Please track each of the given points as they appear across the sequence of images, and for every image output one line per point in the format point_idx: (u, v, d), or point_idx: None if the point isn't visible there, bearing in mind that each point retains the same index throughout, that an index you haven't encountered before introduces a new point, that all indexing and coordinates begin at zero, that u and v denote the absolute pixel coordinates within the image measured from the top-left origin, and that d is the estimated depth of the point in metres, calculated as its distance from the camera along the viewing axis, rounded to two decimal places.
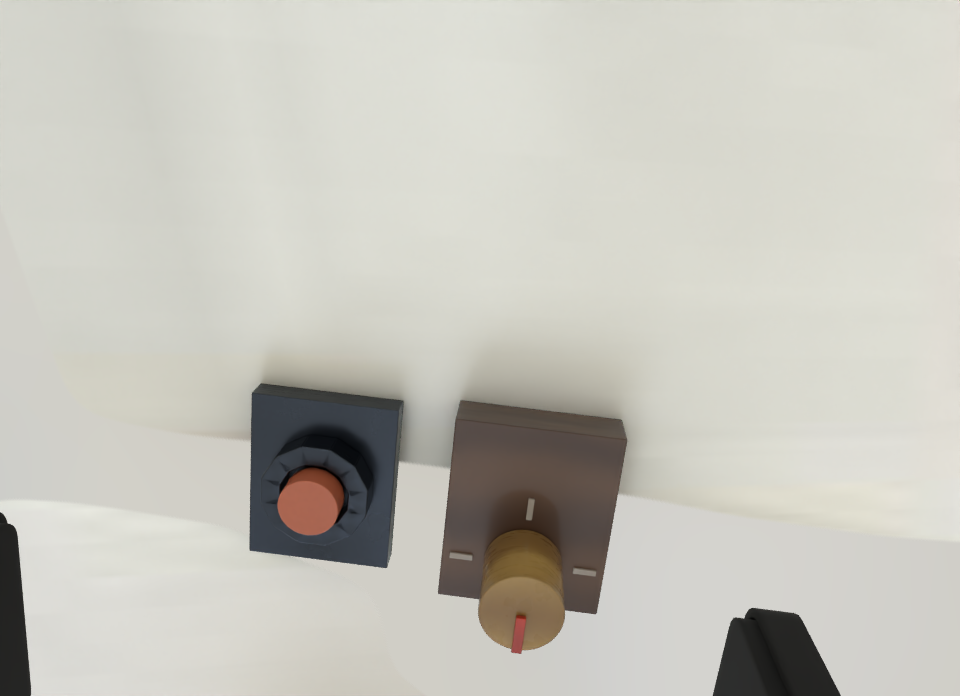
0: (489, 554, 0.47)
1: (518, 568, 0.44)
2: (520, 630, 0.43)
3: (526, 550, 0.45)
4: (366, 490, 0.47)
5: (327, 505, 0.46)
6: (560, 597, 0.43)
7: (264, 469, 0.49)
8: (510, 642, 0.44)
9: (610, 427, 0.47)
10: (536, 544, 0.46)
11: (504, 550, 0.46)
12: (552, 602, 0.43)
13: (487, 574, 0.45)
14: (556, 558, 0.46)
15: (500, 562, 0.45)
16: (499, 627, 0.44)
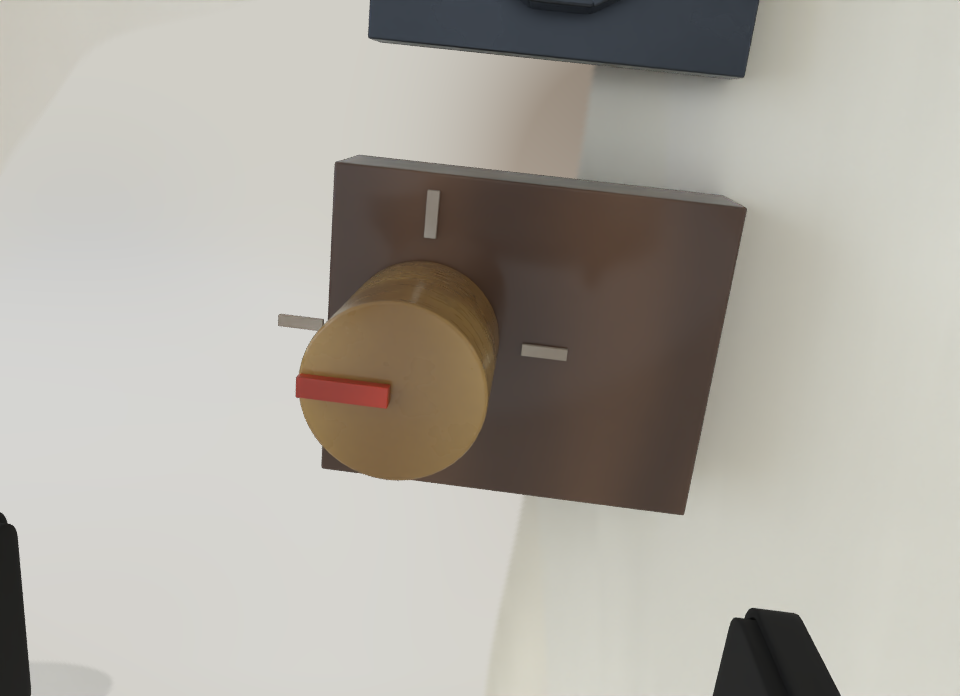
0: (460, 284, 0.22)
1: (489, 376, 0.20)
2: (356, 397, 0.19)
3: None
4: (595, 4, 0.21)
5: None
6: None
7: None
8: (316, 370, 0.20)
9: None
10: None
11: (486, 323, 0.22)
12: (427, 457, 0.20)
13: (452, 302, 0.20)
14: None
15: (479, 326, 0.21)
16: (353, 347, 0.19)
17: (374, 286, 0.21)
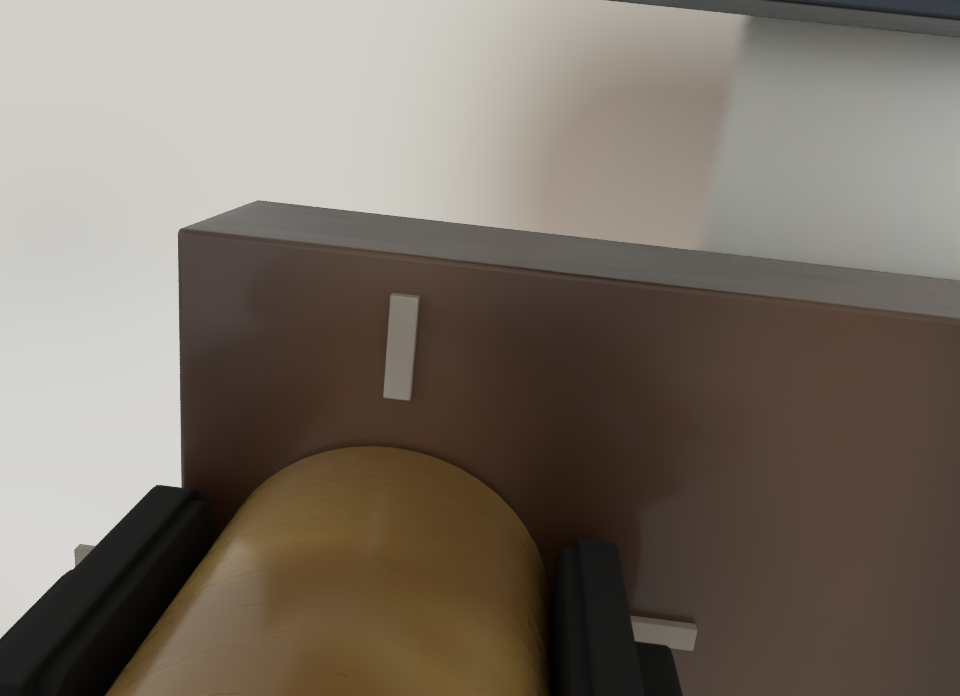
0: (468, 522, 0.10)
1: None
2: None
3: None
4: None
5: None
6: None
7: None
8: None
9: None
10: None
11: (533, 632, 0.09)
12: None
13: (451, 632, 0.08)
14: None
15: (521, 682, 0.08)
16: None
17: (244, 575, 0.08)
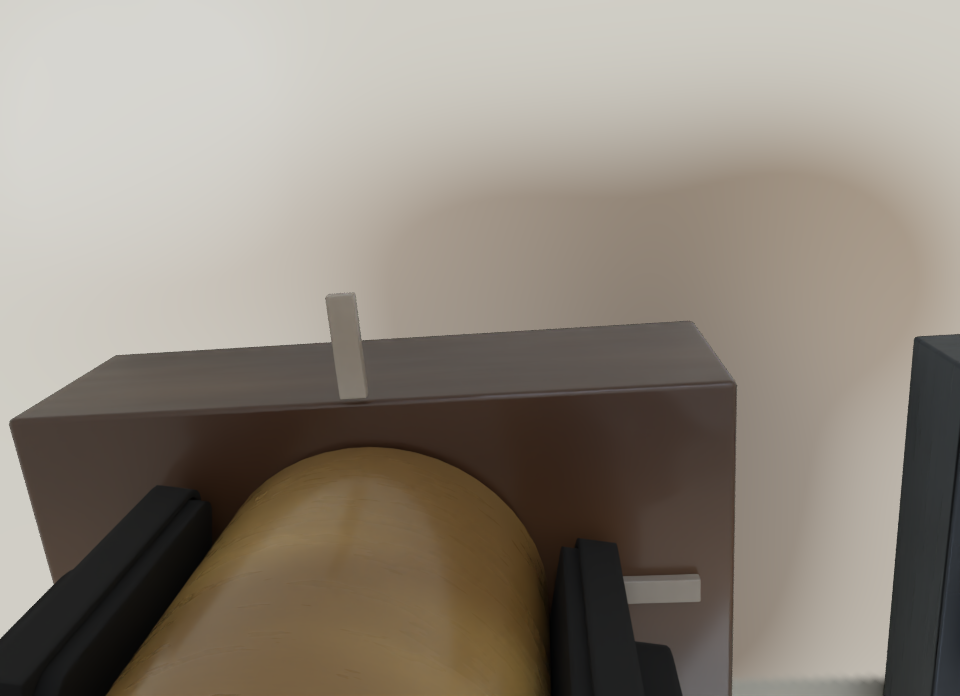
0: (467, 522, 0.10)
1: None
2: None
3: None
4: None
5: None
6: None
7: None
8: None
9: None
10: None
11: (532, 631, 0.09)
12: None
13: (450, 633, 0.08)
14: None
15: (520, 682, 0.08)
16: None
17: (243, 576, 0.08)
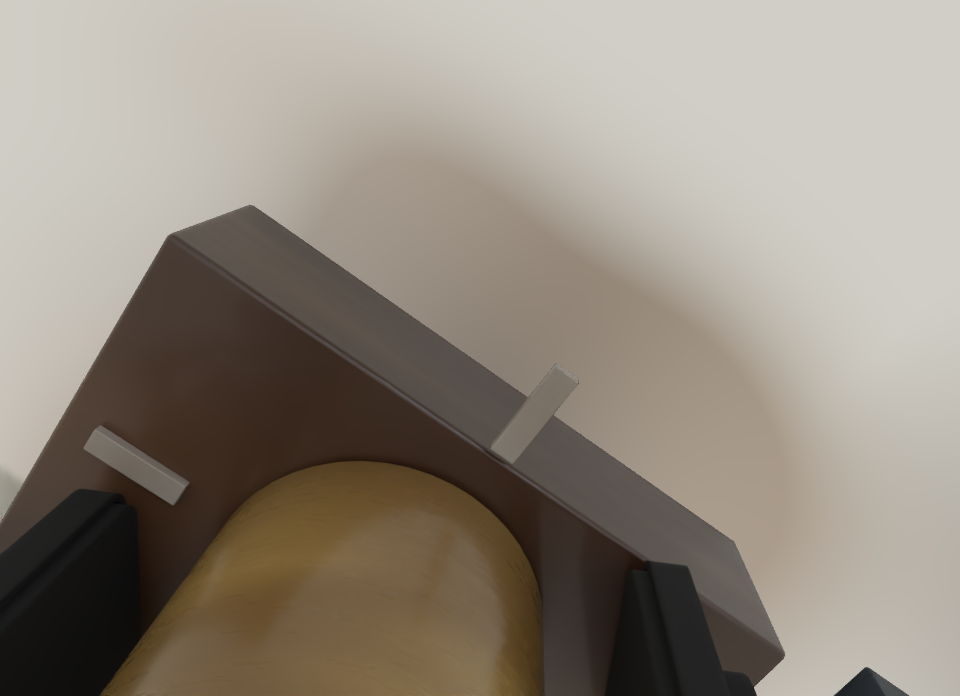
0: (461, 542, 0.09)
1: None
2: None
3: None
4: None
5: None
6: None
7: None
8: None
9: None
10: None
11: (526, 658, 0.09)
12: None
13: (442, 662, 0.07)
14: None
15: None
16: None
17: (227, 599, 0.08)
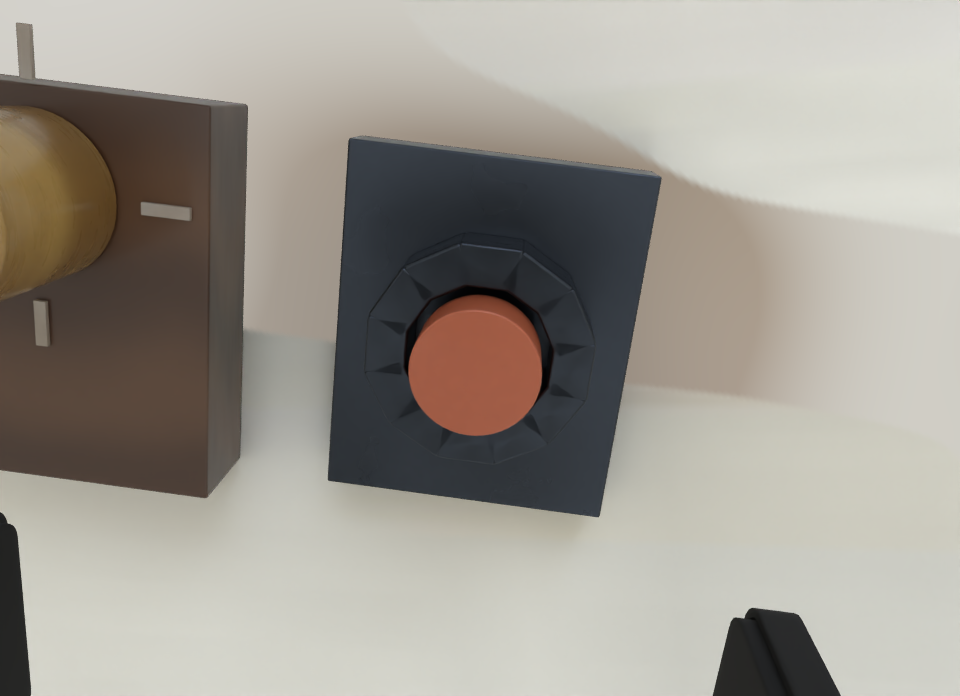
0: None
1: None
2: None
3: (56, 168, 0.20)
4: (366, 373, 0.23)
5: (430, 381, 0.21)
6: None
7: (596, 370, 0.24)
8: None
9: None
10: (86, 187, 0.21)
11: (26, 125, 0.20)
12: None
13: None
14: (86, 243, 0.21)
15: None
16: None
17: None
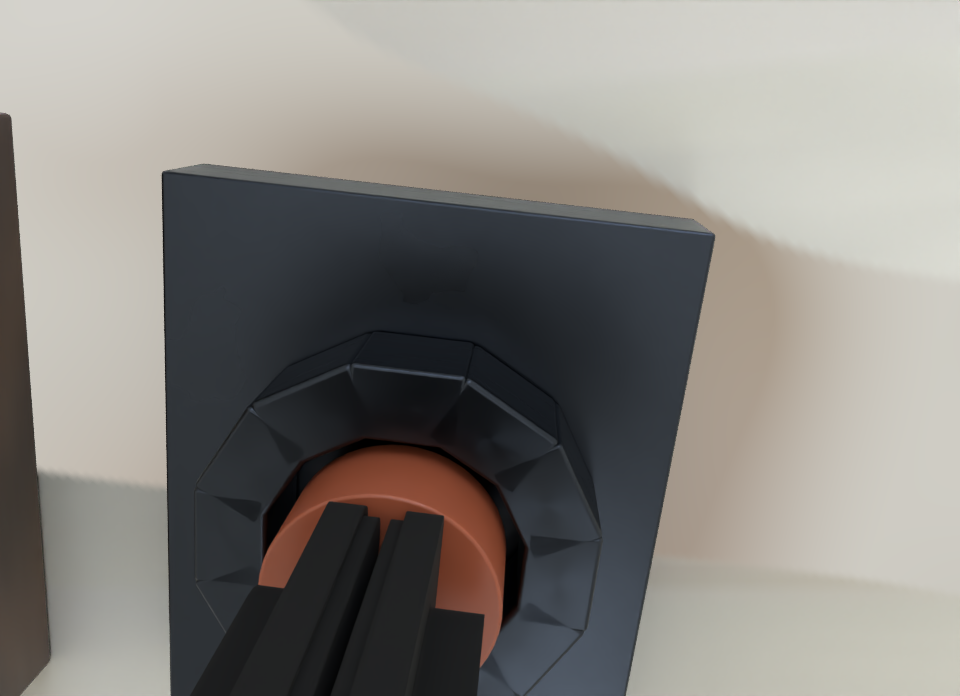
0: None
1: None
2: None
3: None
4: (198, 584, 0.13)
5: None
6: None
7: (603, 555, 0.14)
8: None
9: None
10: None
11: None
12: None
13: None
14: None
15: None
16: None
17: None
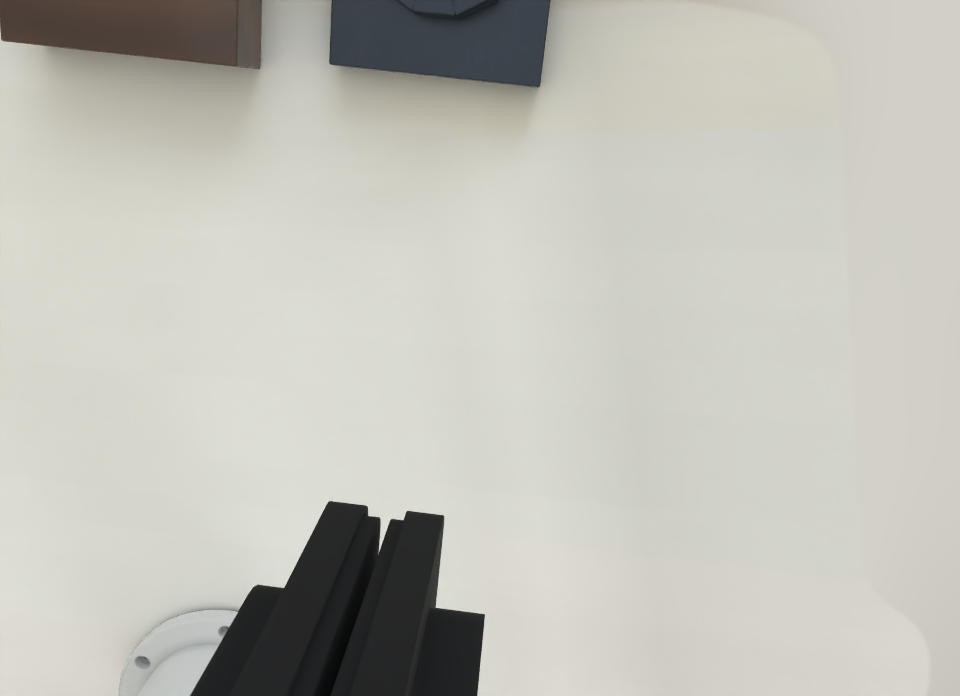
0: None
1: None
2: None
3: None
4: None
5: None
6: None
7: None
8: None
9: None
10: None
11: None
12: None
13: None
14: None
15: None
16: None
17: None
